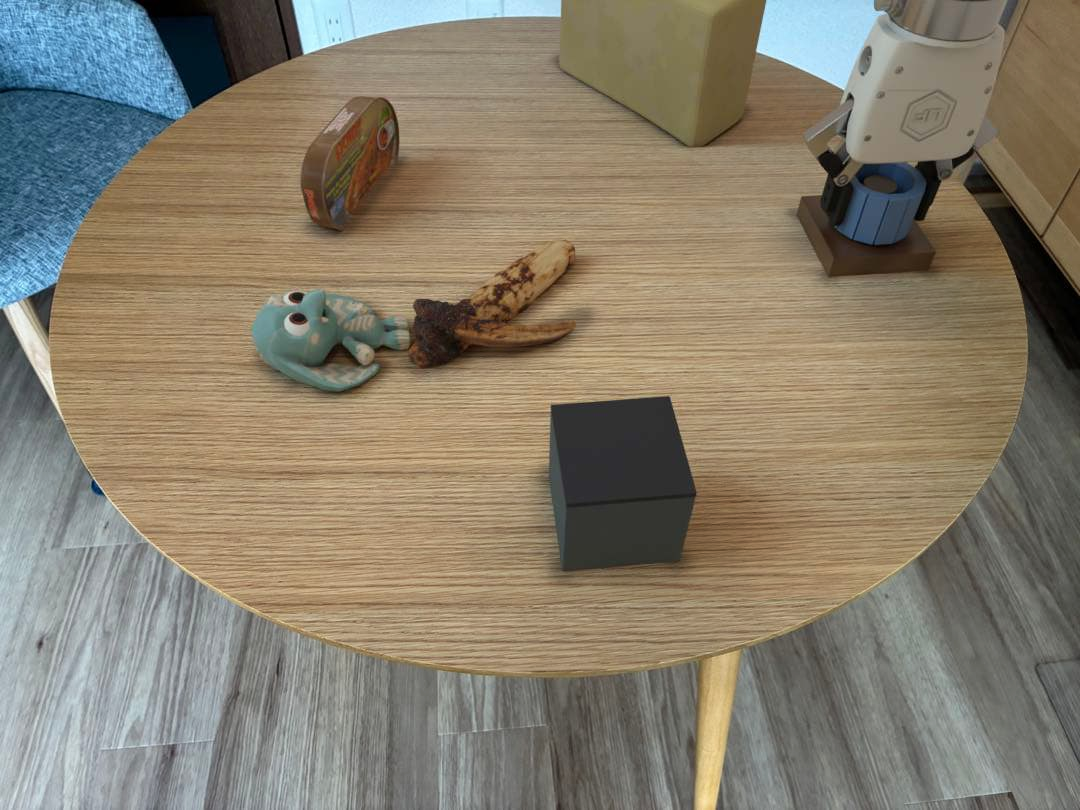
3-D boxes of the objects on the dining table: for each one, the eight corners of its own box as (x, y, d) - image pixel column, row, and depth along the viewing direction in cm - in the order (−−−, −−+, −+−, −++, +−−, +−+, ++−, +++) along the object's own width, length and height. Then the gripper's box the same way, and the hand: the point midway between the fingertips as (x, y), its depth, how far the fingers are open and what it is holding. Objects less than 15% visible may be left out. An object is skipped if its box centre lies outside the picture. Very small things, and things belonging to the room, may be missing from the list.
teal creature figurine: (424, 340, 62) (248, 341, 58) (415, 408, 67) (252, 412, 63) (407, 248, 69) (249, 244, 65) (400, 316, 74) (253, 315, 70)
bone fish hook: (471, 418, 65) (624, 299, 73) (468, 378, 61) (630, 257, 69) (390, 354, 69) (544, 248, 77) (383, 312, 65) (545, 205, 73)
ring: (891, 197, 78) (907, 153, 74) (920, 242, 73) (939, 197, 70) (820, 201, 77) (833, 157, 74) (845, 247, 73) (861, 202, 69)
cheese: (533, 81, 98) (534, -60, 86) (588, 51, 102) (595, -86, 91) (694, 155, 88) (718, 7, 77) (746, 118, 93) (776, -26, 81)
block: (655, 475, 61) (669, 395, 54) (678, 569, 56) (697, 493, 49) (548, 484, 60) (550, 404, 54) (561, 579, 55) (566, 504, 49)
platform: (886, 217, 81) (910, 152, 76) (924, 279, 75) (954, 212, 70) (793, 223, 80) (812, 157, 75) (825, 285, 75) (847, 219, 69)
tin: (338, 249, 77) (321, 168, 71) (306, 242, 78) (286, 161, 71) (406, 160, 87) (396, 81, 80) (377, 155, 87) (365, 76, 81)
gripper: (846, 34, 58) (787, 247, 71) (1088, 23, 60) (986, 234, 73) (811, -13, 63) (762, 194, 76) (1035, -21, 65) (949, 184, 78)
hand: (872, 212), depth 75 cm, fingers closed on ring, 6 cm apart
